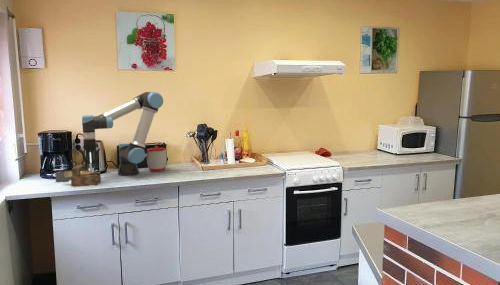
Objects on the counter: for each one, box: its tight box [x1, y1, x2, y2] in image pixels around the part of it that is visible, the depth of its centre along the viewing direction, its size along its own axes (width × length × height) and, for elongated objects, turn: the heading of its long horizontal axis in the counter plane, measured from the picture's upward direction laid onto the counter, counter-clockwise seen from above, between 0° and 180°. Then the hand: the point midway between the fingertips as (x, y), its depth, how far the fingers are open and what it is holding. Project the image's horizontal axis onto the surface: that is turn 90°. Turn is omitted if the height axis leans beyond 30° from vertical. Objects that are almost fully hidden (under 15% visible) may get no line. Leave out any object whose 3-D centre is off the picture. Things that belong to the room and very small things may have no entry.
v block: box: [54, 169, 72, 183], centre depth 260 cm, size 8×8×6 cm
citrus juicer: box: [145, 145, 168, 173], centre depth 290 cm, size 16×17×20 cm
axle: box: [64, 170, 91, 178], centre depth 249 cm, size 16×4×4 cm, turn 101°
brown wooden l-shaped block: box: [70, 164, 102, 187], centre depth 251 cm, size 16×12×12 cm
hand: (91, 172), depth 251 cm, fingers closed
